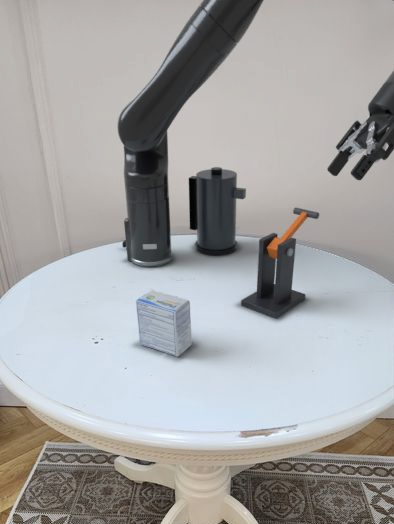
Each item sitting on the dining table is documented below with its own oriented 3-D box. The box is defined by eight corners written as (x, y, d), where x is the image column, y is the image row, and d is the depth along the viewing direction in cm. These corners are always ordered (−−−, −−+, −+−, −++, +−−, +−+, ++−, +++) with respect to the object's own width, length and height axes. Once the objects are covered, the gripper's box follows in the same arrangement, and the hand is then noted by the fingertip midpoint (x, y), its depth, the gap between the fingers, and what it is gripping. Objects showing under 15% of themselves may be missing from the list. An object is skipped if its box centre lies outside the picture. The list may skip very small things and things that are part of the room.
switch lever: (297, 213, 102) (295, 203, 100) (320, 218, 99) (318, 208, 98) (262, 255, 98) (260, 245, 96) (285, 261, 95) (283, 252, 94)
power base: (271, 288, 108) (275, 226, 101) (305, 299, 103) (311, 236, 96) (240, 305, 101) (242, 241, 95) (275, 318, 97) (280, 252, 90)
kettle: (183, 251, 125) (180, 171, 115) (200, 237, 133) (199, 161, 123) (235, 259, 120) (237, 176, 111) (249, 244, 128) (253, 165, 118)
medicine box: (192, 345, 89) (191, 299, 85) (177, 358, 86) (175, 311, 82) (154, 333, 93) (151, 288, 88) (138, 345, 90) (134, 299, 85)
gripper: (366, 83, 96) (310, 159, 99) (414, 76, 84) (349, 164, 86) (391, 111, 99) (337, 184, 102) (442, 108, 87) (378, 192, 89)
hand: (342, 175), depth 94 cm, fingers open, 8 cm apart
